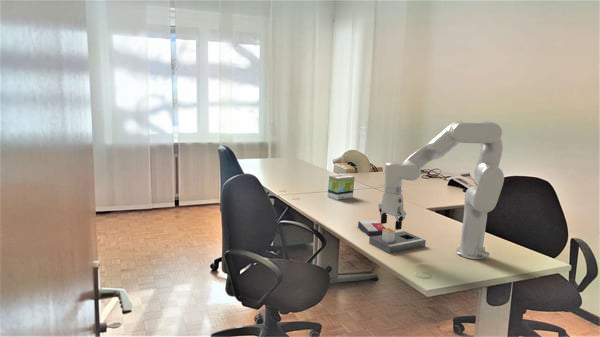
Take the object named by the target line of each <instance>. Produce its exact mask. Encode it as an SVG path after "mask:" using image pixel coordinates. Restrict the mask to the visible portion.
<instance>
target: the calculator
mask: <svg viewBox="0 0 600 337" xmlns="http://www.w3.org/2000/svg"><path fill="white" fill-rule="evenodd" d="M357 229H359V230H360V231H361V232H362V233H364V234H365V235H366V236H368V237H373V236H379V235H382V231H383V229H387V228H386V227H385V226H384V224H381V222H379V221H378V220H359V221H358V223H357Z"/></svg>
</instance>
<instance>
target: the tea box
mask: <svg viewBox="0 0 600 337" xmlns="http://www.w3.org/2000/svg"><path fill="white" fill-rule="evenodd" d="M354 187H355V176H353V175H350V174H343V173H342V174H335V175H333V174H332V175H329V177H328V187H327V198H330V199H332V200H333V199H334V200H336V201H339V200H344V199H352V198H354V189H355V188H354Z"/></svg>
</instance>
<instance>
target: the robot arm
mask: <svg viewBox="0 0 600 337" xmlns="http://www.w3.org/2000/svg"><path fill="white" fill-rule="evenodd" d="M502 135H503V130H502V127H501V126H500V125H499V124H498V123H496V122H492V121H489V120H481V121H478V122H463V121H461V120H460V121H459V120H458V121H453V122H451V123H450V124H449V125H447V127H445V128H444V129H443V130H442V131H441V132H440V133H438V134H437V135H436V136H435V137H434V138H432V139H431V140H430V141H429V142H428V143H426V144H424V145H423V146H422V147H420V148H419V149H417V150H416V151H415V152H414V153H412V154H411V155H410V156H409V157H408V158H407V159H405V160H404V161H403V163H401V162H397V161H388V162H386V163H385V165H384V166H385V167H384V186H383V187H384V188H383V193H382V198H381V203H379V204H378V205H377V206H378V211H379V213H380V214H379V215H380V223H381V224H382V225H384V224H387V223H388V215H389V216H393V217H394V218H395V219H396V220H395V223H394V224H395V225H394V226H395V228H394V229H395V231H399V230H402V226H403V225H402V223H403V221H404V220H405V218H406V216H407V212H406V211H405V210H404V196H403V193H402V192H403V189H402V184H403V183H402V182H403V180H405V181H411V182H412V181H416V180H419V178H420V177H421V175H422V170H421V169H422V168H423V167H425V166H426V165H427V164H428V163H429V162H430V163H431V162H433V161H434V160H438V159H441V158H443V157H445V155H447V153H449V152H450V151H451V150H453V148H455V147H456V146H458V144H460V143H461V144H480V151H479V156H478V160H477V162H476V166H475V168H474V172H473V177H474V179H475V180H476V181H477V182H478V183H477V185H476V184H475V185H471V186H470V187H468V188H467V189H466V191H465V194H464V197H463V198H464V199H463V200H464V205H463V206H464V208H463V209H464V210H463V220H462V226H461V228H462V229H461V235H460V243H459V244H460V245H459V247H457V248H456V249H455V252H456V254H457V255H458V256H460V257H463V258H466V259H469V260H484V259H485V258H486V259H488V258H489V257H490V252H489V251H486V247H485V246H484V242H485V235H486V227H487V222H488V220H487V219H488V213H489V212H492V211H493V210H494V209H495V208H496V206H497V203H498V202H499V197H500V195H501V192H502V189H503V186H504V181H505V174H504V172H503V170H502V169H501V168H500V167H499V166H500V163H501V159H502V158H501V157H502V155H503V148H504V146H503V141H502V138H501V137H502Z"/></svg>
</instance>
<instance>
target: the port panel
mask: <svg viewBox="0 0 600 337" xmlns="http://www.w3.org/2000/svg"><path fill="white" fill-rule="evenodd" d="M368 240H369V241H368V243H369V245H372V246H373V247H376V249H379V250H382V251H384V252H385V253H388V254H389V255H391V254H394V253H395V254H396V253H400V252H405V251H411V250H414V249H419V248H424V247H426V242H427V241H426V239H424V238H421V237H420V236H416V235H414V234H413V233H411V232H410V233H409V232H408V231H405V230H403V231H398V232H395V239H394V242H391V243H386V242H384V241H382V235H379V236H369V239H368Z"/></svg>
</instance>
